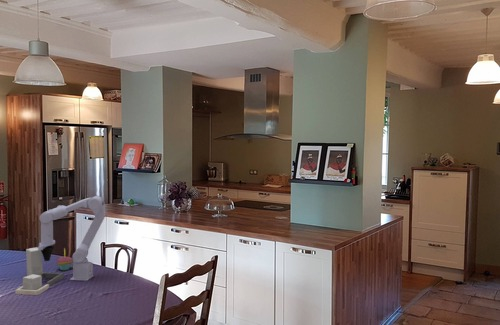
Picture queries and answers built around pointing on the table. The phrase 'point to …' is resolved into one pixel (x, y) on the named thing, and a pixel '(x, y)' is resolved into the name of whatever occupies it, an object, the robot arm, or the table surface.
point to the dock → (55, 277)
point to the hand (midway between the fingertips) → (47, 260)
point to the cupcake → (64, 262)
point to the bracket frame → (31, 292)
